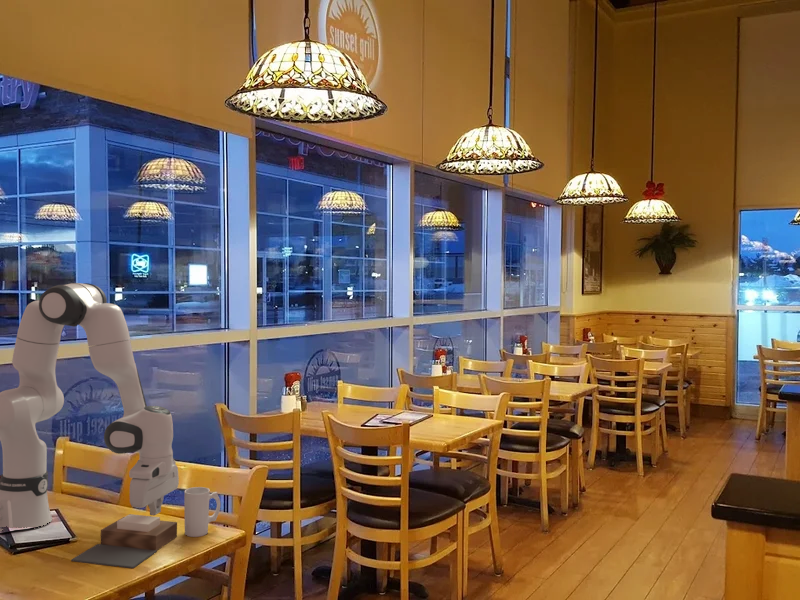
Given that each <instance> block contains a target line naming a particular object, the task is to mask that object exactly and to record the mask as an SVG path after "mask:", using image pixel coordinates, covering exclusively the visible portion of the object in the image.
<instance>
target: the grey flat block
mask: <svg viewBox="0 0 800 600" xmlns="http://www.w3.org/2000/svg"><path fill="white" fill-rule="evenodd" d="M123 517H124V518H123ZM123 517H121V518H122V519H121V518H120V520H119V519H118V520H119V521H118V520H116V521H117V529H124V530H134V531H143V532H149V531H150V530H152V529H154V528H155V527H157V526H158V525H160V520H161V517H160V516H153V515H140V514H131V513H130V514H127V515H125V516H123Z"/></svg>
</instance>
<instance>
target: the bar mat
mask: <svg viewBox="0 0 800 600" xmlns="http://www.w3.org/2000/svg"><path fill="white" fill-rule="evenodd" d="M157 551H158V550H148V549H139V548H130V547H121V546H112V545H103V544H101V543H97V544H95V545H93V546H92V547H89V548H88V549H87V550H85V551H83V552H82V553H80V554H78V555H76V556H75V557H73V558H71V560H70V561H71V562H76V563H84V564H85V563H86V564H92V565H93V564H94V565H100V566H101V565H103V566H111V567H117V566H119V568H128V569H135V568H136V567H137V566H139V565H140V564H142V563H143V562H145V561H146V560H147V559H149V558H150V557H152V556H153V555H155V554H156V553H157ZM154 553H155V554H154ZM144 560H145V561H144Z"/></svg>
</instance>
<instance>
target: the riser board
mask: <svg viewBox="0 0 800 600" xmlns="http://www.w3.org/2000/svg"><path fill="white" fill-rule="evenodd" d="M124 517H125V516H122V517H121V518H120V519H122V518H124ZM120 519H117V520H116V521H114V522H112V523H110V524H109V525H107V526H105V527H103V528H101V529H100V544H103V545H112V546H121V547H130V548H139V549H148V550H157V551H158V550H160V549H161V548H162V546H163V547H164V546H165V545H167V544H168V543H170V542H171V541H173V540H174V539H176V538H177V537H178V521H170V520H169V521H168V520H161V519H160V525H158V526H157V527H155V528H154V529H152V530H150V531H149V532H143V531H134V530H124V529H117V521H119V520H120ZM175 537H176V538H175ZM159 548H160V549H159Z"/></svg>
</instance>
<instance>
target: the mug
mask: <svg viewBox="0 0 800 600" xmlns="http://www.w3.org/2000/svg"><path fill="white" fill-rule="evenodd" d="M183 499H184V503H183V504H184V506H183V507H184V535H185V536H186V535H187V536H186V537H192V538H198V537H203V536H206V535H207V534H208V532H209V524H210V523H211V522H216V520H217V518H218V516H219V513H220V509H221V499H220V497H219V495H218V491H214V492H212V493H210V488H209V487H203V486H198V487H197V486H195V487H194V486H193V487H189V488H187V489H185V490H184V498H183ZM211 499H214V500H215V502H216V508H215V511H214V513H213V514H212V515H209V513H210V500H211Z"/></svg>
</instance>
